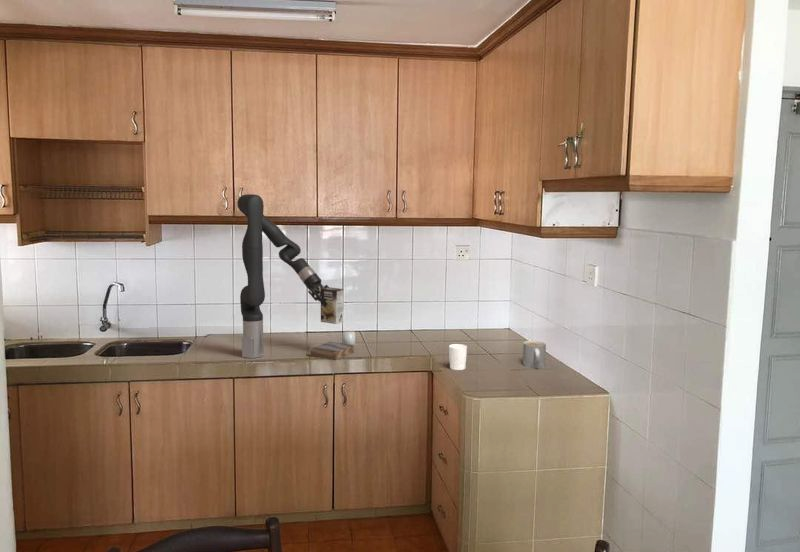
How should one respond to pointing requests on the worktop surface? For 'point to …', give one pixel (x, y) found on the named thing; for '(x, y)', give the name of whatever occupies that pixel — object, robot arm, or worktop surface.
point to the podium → (332, 350)
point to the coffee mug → (534, 354)
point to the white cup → (457, 356)
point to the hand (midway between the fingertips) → (330, 304)
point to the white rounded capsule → (349, 337)
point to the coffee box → (332, 305)
